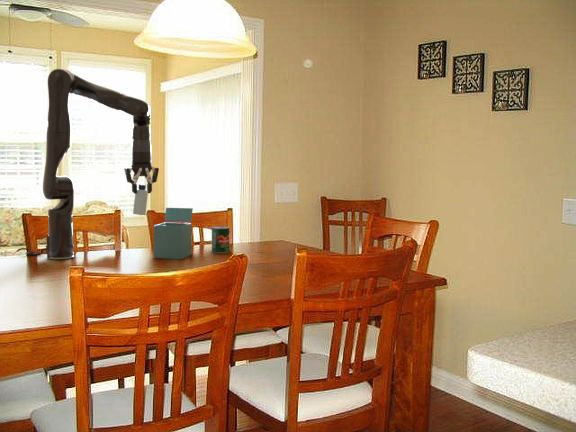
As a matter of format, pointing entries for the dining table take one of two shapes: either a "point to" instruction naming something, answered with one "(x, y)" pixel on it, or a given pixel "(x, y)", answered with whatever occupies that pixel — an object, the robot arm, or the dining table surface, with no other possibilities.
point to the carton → (172, 240)
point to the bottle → (140, 200)
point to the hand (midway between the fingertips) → (142, 193)
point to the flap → (178, 214)
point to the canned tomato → (220, 239)
